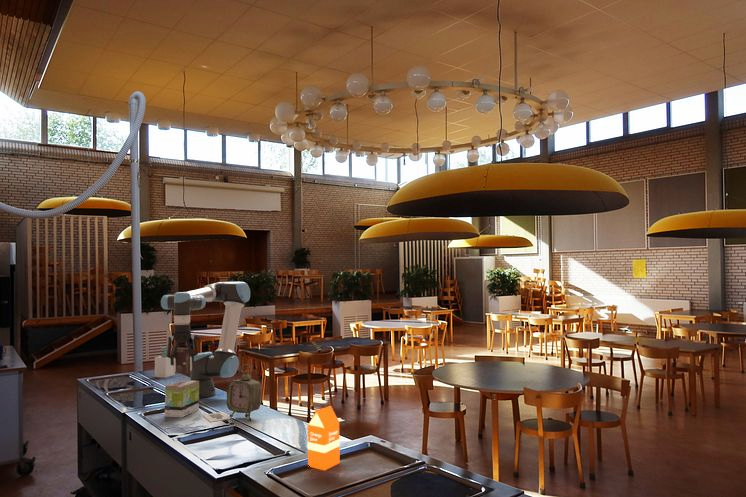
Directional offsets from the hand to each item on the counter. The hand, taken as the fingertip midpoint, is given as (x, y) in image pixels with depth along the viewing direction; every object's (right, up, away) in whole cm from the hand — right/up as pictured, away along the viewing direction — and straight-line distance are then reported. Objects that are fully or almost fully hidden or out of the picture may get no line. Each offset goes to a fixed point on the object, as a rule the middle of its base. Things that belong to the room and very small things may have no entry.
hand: (182, 370), depth 268 cm
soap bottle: (-43, -24, +90) cm, 103 cm away
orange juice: (+76, -18, -71) cm, 105 cm away
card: (+19, -20, -9) cm, 29 cm away
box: (0, -1, 0) cm, 1 cm away
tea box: (0, -21, -1) cm, 21 cm away
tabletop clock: (+33, -20, -11) cm, 40 cm away
